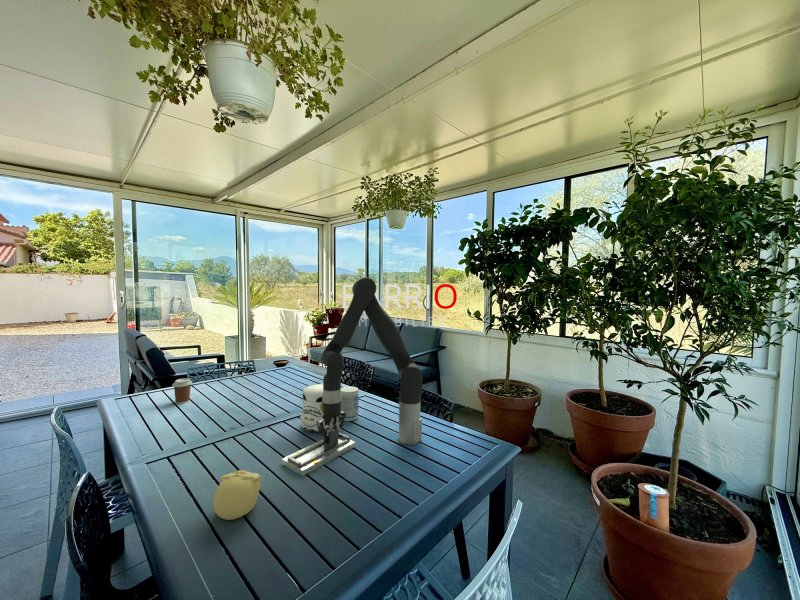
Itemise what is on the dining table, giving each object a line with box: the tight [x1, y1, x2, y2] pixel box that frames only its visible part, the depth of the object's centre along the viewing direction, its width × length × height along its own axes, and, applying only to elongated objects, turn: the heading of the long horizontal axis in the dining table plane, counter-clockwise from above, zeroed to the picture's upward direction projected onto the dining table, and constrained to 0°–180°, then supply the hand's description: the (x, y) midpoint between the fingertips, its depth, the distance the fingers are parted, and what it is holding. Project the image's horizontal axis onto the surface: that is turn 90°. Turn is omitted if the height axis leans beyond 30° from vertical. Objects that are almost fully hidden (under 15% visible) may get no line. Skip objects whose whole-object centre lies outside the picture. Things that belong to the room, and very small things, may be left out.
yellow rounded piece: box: [212, 469, 262, 521], centre depth 92 cm, size 11×12×11 cm
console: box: [281, 432, 356, 477], centre depth 123 cm, size 26×12×3 cm, turn 144°
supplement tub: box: [340, 386, 360, 422], centre depth 159 cm, size 10×10×15 cm
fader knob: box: [324, 427, 338, 447], centre depth 127 cm, size 4×4×6 cm
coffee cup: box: [172, 378, 193, 405], centre depth 175 cm, size 9×9×12 cm
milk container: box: [300, 383, 333, 433], centre depth 147 cm, size 17×17×18 cm
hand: (331, 441), depth 127 cm, fingers closed on fader knob, 4 cm apart
